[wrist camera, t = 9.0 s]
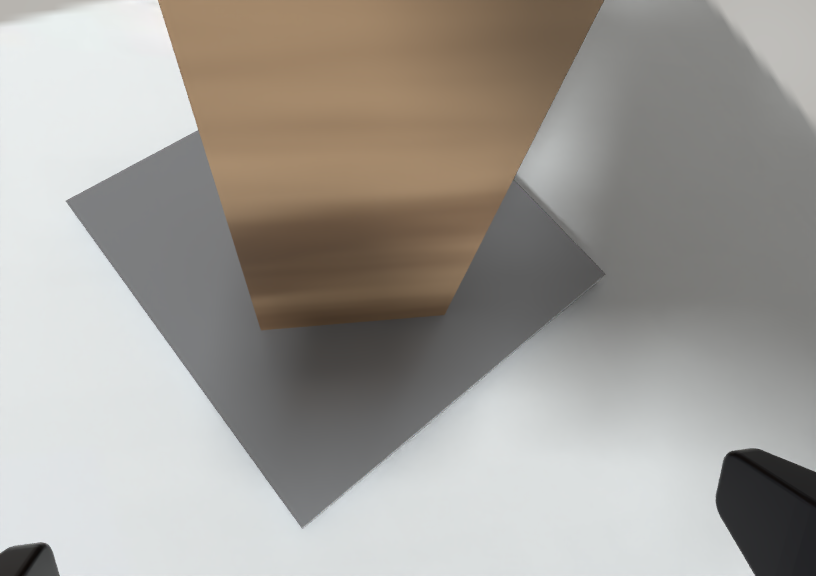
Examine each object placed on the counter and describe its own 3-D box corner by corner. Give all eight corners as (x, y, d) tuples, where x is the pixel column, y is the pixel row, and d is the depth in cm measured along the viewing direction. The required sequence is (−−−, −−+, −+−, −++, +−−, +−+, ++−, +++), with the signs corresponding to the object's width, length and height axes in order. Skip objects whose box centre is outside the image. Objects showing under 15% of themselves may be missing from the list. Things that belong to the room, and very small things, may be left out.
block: (444, 314, 17) (716, -222, 5) (261, 330, 16) (75, -265, 4) (419, 163, 19) (577, -489, 7) (254, 170, 18) (111, -555, 6)
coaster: (597, 282, 19) (605, 273, 18) (302, 528, 15) (302, 528, 14) (373, 49, 21) (374, 36, 21) (73, 211, 17) (65, 200, 17)
